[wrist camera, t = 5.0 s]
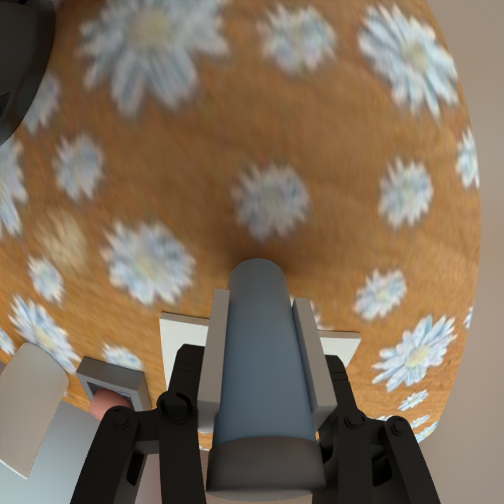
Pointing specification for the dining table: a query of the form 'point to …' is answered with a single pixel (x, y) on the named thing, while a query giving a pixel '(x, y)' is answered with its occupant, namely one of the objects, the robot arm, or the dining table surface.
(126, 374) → the button housing
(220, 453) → the marker
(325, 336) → the board
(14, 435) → the cup
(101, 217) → the dining table surface
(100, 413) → the button
